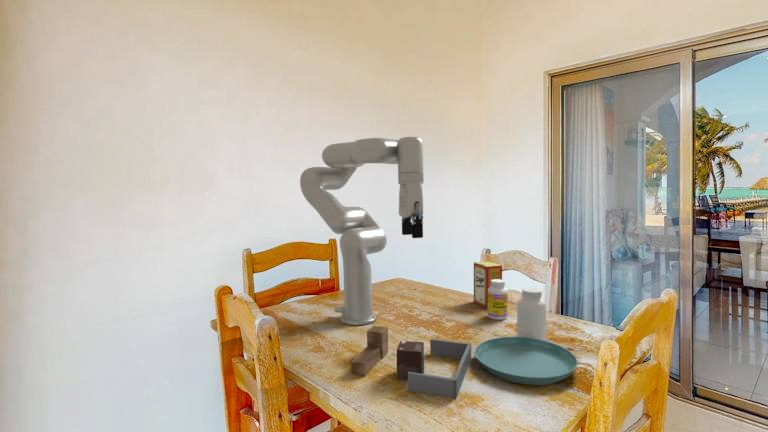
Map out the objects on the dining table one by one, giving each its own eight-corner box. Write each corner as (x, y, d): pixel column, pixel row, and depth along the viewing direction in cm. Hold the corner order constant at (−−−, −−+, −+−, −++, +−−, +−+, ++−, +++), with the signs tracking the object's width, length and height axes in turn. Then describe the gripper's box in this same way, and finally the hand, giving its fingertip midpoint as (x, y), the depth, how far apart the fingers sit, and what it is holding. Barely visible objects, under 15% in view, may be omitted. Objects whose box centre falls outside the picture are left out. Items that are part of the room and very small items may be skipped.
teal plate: (498, 341, 118) (498, 330, 117) (588, 362, 102) (588, 350, 102) (457, 371, 99) (457, 358, 99) (560, 403, 84) (560, 387, 84)
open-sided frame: (407, 390, 89) (407, 373, 89) (431, 352, 109) (431, 338, 109) (456, 398, 85) (456, 380, 85) (471, 358, 106) (471, 343, 105)
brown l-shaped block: (350, 374, 98) (349, 346, 97) (373, 350, 112) (373, 325, 112) (366, 376, 96) (366, 348, 96) (388, 352, 110) (387, 327, 110)
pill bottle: (545, 337, 120) (545, 287, 119) (546, 347, 112) (547, 294, 111) (517, 334, 122) (517, 286, 121) (516, 344, 115) (517, 292, 114)
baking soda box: (473, 301, 158) (473, 261, 157) (488, 300, 160) (488, 260, 159) (486, 308, 149) (486, 265, 148) (501, 306, 151) (502, 264, 150)
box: (421, 382, 93) (421, 351, 93) (396, 380, 94) (395, 350, 94) (424, 370, 99) (424, 341, 98) (400, 369, 100) (400, 340, 100)
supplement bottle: (490, 320, 135) (491, 283, 134) (485, 314, 142) (485, 278, 141) (510, 320, 135) (510, 282, 135) (504, 314, 142) (504, 278, 141)
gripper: (391, 180, 127) (392, 234, 128) (407, 178, 111) (409, 239, 111) (413, 180, 129) (414, 233, 130) (433, 177, 112) (434, 238, 113)
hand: (412, 236), depth 121 cm, fingers open, 9 cm apart
